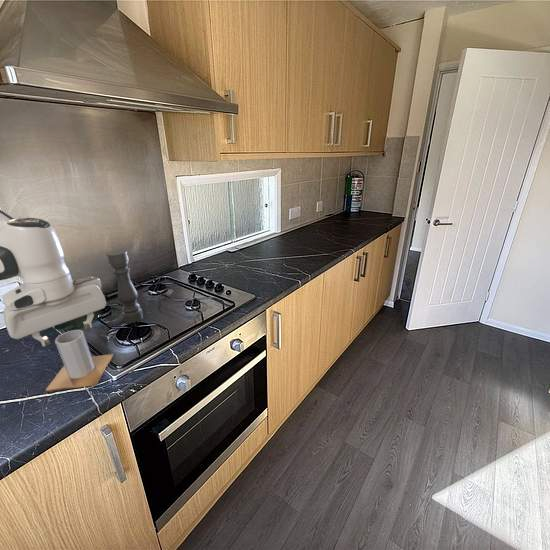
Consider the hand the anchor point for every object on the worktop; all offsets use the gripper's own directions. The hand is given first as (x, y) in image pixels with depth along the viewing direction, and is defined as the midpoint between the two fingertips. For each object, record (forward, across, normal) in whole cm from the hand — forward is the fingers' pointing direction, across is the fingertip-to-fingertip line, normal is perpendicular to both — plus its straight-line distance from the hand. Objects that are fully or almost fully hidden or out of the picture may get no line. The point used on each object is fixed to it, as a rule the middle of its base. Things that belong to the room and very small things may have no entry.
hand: (68, 335), depth 75 cm
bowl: (+12, -9, -32) cm, 35 cm away
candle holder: (+12, -22, -16) cm, 29 cm away
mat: (+12, 0, 0) cm, 12 cm away
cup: (+11, 0, 0) cm, 11 cm away
